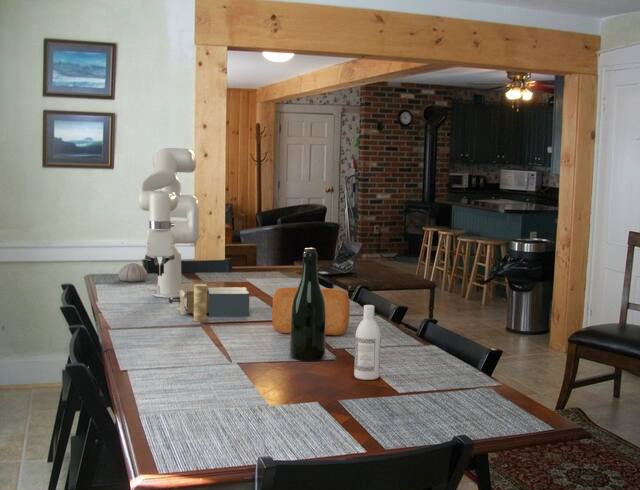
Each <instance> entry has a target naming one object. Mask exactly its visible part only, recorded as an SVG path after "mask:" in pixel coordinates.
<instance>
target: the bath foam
mask: <svg viewBox="0 0 640 490" xmlns="http://www.w3.org/2000/svg"><path fill="white" fill-rule="evenodd" d="M381 344H382V334H381V328H380V327H379V325H378V323H377V321H376V319H375V305H373V304H365V305H363V317H362V320H361V321H360V323H359V324H358V326H357V327H356V331H355V338H354V363H353V365H354V366H353V368H354V369H353V370H354V371H353V375H354V378H355V379H358V380H362V381H374V380H378V379H379V378H380V368H381Z"/></svg>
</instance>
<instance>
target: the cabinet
mask: <svg viewBox="0 0 640 490" xmlns="http://www.w3.org/2000/svg"><path fill="white" fill-rule="evenodd" d="M207 291H208V293H209V313H207V315H208V317H209V318H219V317H220V318H222V317H225V318H227V317H250V292H249V290H248V289H247V287H245V286H244V287H243V286H240V287H239V286H236V287H235V286H234V287H233V286H232V287H229V286H228V287H221V286H220V287H213V286H212V287H211V286H210V287H208V286H207Z"/></svg>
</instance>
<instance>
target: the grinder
mask: <svg viewBox="0 0 640 490" xmlns="http://www.w3.org/2000/svg"><path fill="white" fill-rule="evenodd" d="M207 287H208V285H207V284H204V283H196V284H195V283H194V284H193V291H194V313H193V322H196V323H204V322H207V320H208V319H207V318H208V313H207Z"/></svg>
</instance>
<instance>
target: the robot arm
mask: <svg viewBox="0 0 640 490" xmlns="http://www.w3.org/2000/svg"><path fill="white" fill-rule="evenodd" d="M152 165H153V168H154V170H153V171H154V172H152V173H151V174H149V175H148V176H147V177H146V178H144V179H143V180H142V182H141V183H140V186H139V191H138V198H137V202H138V207H139V208H140V210H142V211H145V212H148V222H149V223H148V224H149V225H148V228H147V230H146V233H145V234H146V235H145V247H144V249H145V255H144V260H146V261H149V262H152V264H154V265H155V274H157V283H156V285H154V286H151V285H146V291H147V292H153V296H154V297H157V298H161V299H162V298H164V299H169V297H172V298H180V290H182V252H181V250H180V249H179V248H178V247H177V244H178V245H179V244H181V245H182V244H183V245H186V244H190V245H192V244H196V243H197V242H198V241H199V237H200V205H199V204H200V203H199V199H198V198H197V196H195V195H192V194H182V183H181V181H180V179H179V178H178V176H177V173H185V174H186V173H189V174H190V173H193V172H195V170H196V168H197V158H196V155H195V152H194V151H192V150H191V149H189V148H176V147H165V148H161V149H159V150H158V151H157V152H155V153H153V156H152ZM171 218H180V219H181V218H182V219H183V218H184V219H187V220H171ZM184 296H186V292H184Z"/></svg>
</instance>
